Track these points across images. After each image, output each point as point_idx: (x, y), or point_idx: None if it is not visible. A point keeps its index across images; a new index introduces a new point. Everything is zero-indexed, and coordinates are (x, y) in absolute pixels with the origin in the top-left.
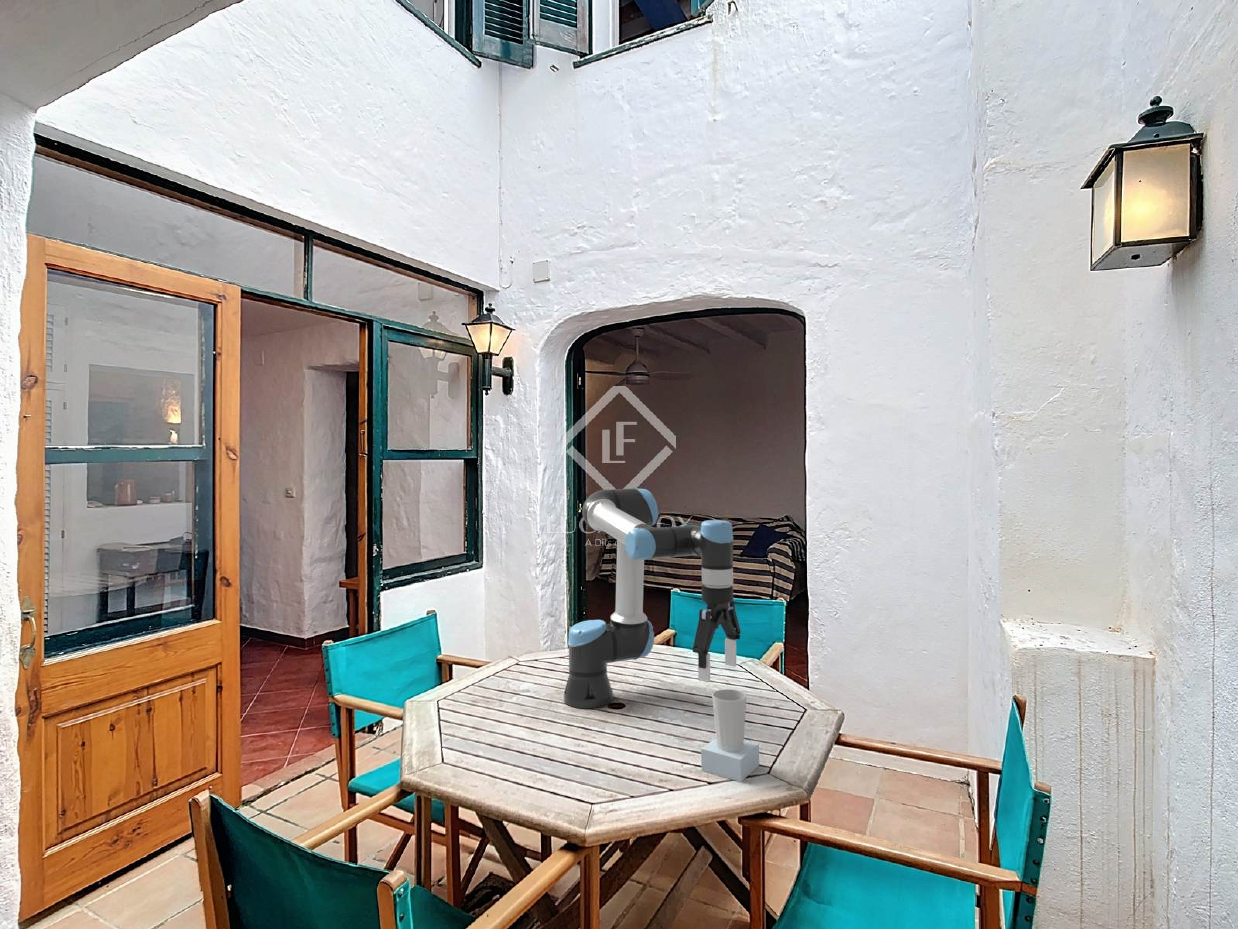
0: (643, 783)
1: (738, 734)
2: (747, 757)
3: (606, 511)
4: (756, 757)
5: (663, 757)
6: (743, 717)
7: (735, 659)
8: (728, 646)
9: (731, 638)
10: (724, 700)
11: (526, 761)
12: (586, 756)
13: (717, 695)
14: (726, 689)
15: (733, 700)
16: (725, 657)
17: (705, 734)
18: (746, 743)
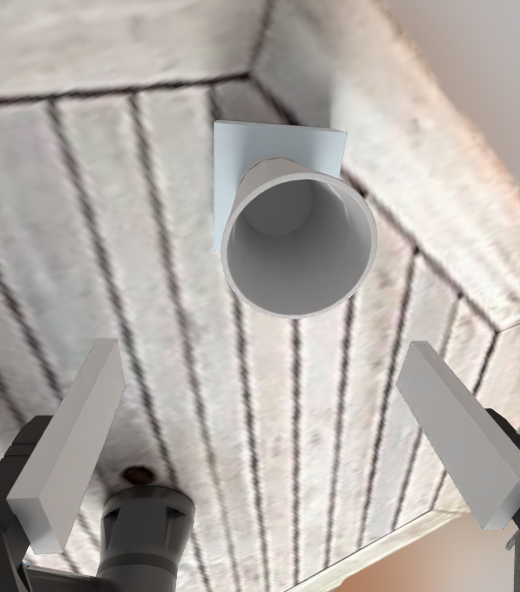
0: (408, 302)
1: (307, 167)
2: (298, 128)
3: None
4: (234, 122)
5: (293, 322)
6: (294, 165)
7: (94, 367)
8: (79, 474)
9: (18, 534)
10: (376, 243)
11: (396, 457)
12: (348, 414)
13: (274, 302)
14: (238, 290)
15: (232, 244)
16: (112, 418)
17: (140, 305)
18: (233, 160)
